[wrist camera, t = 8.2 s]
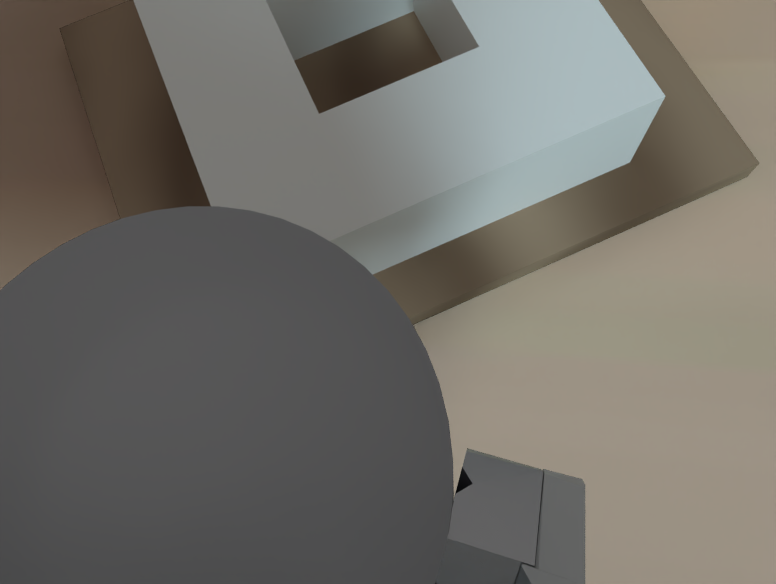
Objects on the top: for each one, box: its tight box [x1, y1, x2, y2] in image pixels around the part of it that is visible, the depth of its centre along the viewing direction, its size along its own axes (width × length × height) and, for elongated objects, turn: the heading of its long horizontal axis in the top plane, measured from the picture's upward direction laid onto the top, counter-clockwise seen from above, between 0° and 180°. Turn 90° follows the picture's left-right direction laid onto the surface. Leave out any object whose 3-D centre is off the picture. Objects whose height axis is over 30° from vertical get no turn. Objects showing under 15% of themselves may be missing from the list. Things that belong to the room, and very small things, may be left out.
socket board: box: [60, 0, 759, 325], centre depth 25 cm, size 22×18×2 cm
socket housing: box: [133, 0, 665, 275], centre depth 23 cm, size 14×14×4 cm
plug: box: [0, 206, 454, 584], centre depth 9 cm, size 4×4×10 cm
